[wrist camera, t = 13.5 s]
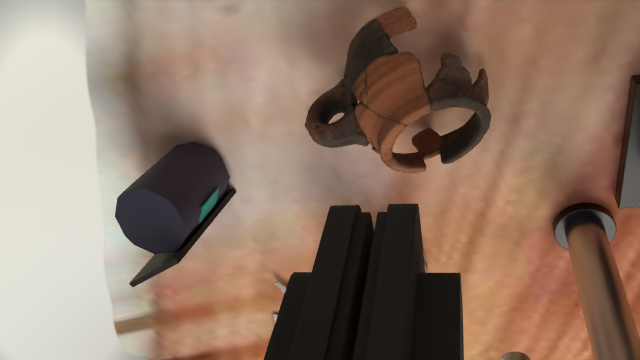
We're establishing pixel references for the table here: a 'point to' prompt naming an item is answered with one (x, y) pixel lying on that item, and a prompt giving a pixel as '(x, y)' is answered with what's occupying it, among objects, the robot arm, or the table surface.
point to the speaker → (173, 205)
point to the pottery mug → (398, 99)
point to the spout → (596, 282)
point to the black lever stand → (630, 152)
